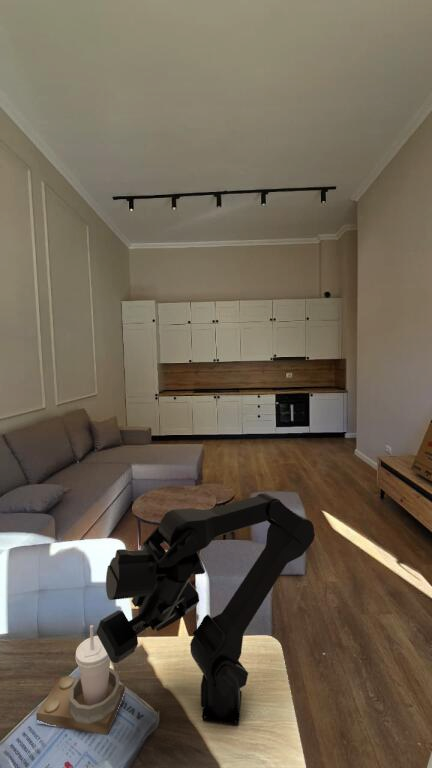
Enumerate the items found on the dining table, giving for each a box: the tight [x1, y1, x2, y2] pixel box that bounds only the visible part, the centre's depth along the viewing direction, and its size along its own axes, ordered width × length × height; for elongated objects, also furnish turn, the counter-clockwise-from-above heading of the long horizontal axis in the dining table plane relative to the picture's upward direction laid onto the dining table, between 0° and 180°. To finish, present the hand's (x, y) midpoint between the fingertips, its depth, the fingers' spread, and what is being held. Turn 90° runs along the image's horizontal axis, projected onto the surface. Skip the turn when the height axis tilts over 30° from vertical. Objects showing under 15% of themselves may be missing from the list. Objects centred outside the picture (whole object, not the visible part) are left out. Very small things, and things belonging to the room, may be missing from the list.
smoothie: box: [75, 624, 111, 706], centre depth 64 cm, size 6×6×14 cm
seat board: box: [35, 667, 126, 735], centre depth 65 cm, size 13×8×4 cm, turn 81°
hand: (137, 642), depth 65 cm, fingers open, 9 cm apart
